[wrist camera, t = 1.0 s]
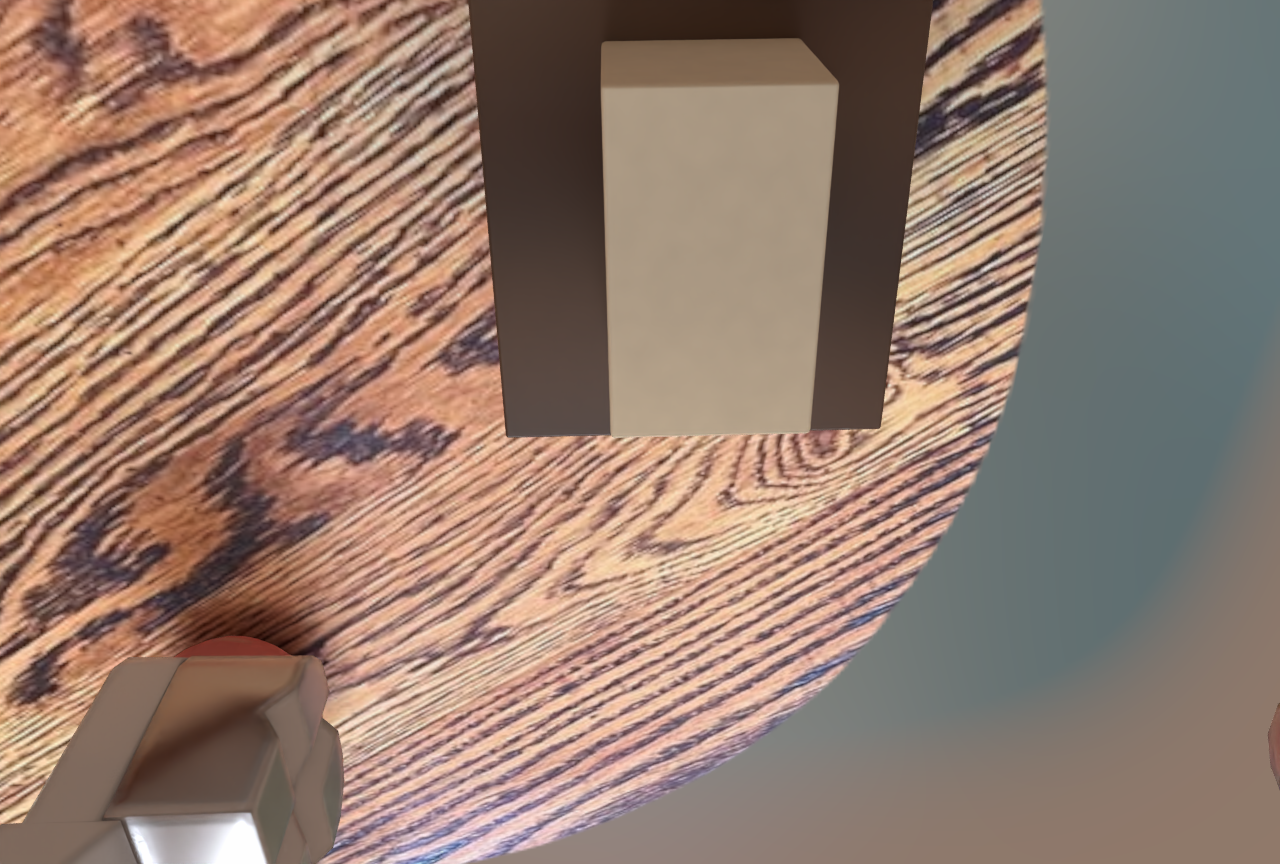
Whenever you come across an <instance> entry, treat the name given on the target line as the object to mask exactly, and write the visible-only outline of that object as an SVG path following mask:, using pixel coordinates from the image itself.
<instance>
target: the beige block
mask: <svg viewBox="0 0 1280 864" xmlns="http://www.w3.org/2000/svg"><path fill="white" fill-rule="evenodd" d="M838 93H839V83H838V81H837V79H836V78H835V77H834V76H833V75H832V74H831V73H830V72H829V70H828V69H827V68H826V67H825V66H824V65H823V64H822V63H821V61H820V60H819V59H818V58H817V57H816V56H815V55H814V54H813V52H812V51H811V50H810V49H809V48H808V47H807V46H806V45H805V43H804V42H803V41H802V40H801V39H799V38H779V39H716V40H654V41H605V42H603V43H602V46H601V115H602V151H603V186H604V222H605V257H606V293H607V328H608V364H609V399H610V434H611V436H612V437H614V438H627V437H669V436H711V435H754V434H796V433H808V432H809V431H810V428H811V416H812V404H813V392H814V380H815V368H816V356H817V344H818V332H819V320H820V308H821V296H822V284H823V272H824V260H825V248H826V237H827V225H828V213H829V201H830V189H831V177H832V165H833V153H834V141H835V129H836V117H837V105H838Z"/></svg>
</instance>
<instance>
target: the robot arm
mask: <svg viewBox="0 0 1280 864" xmlns="http://www.w3.org/2000/svg"><path fill="white" fill-rule="evenodd" d="M328 694H329V688H328V684H327V680H326V676H325V672H324V668H323V665H322V661H321V660H319V659H318V658H316V657H314V656H313V655H307V656H191V657H190V658H185V657H129V658H127V659H126V660H124V661H123V662H121V663H120V664H119V665H117V666H116V667H114V668H113V669H112V671H111V672H110V674H109V675H108V677H107V679H106V680H105V682H104V684H103V686H102V687H101V689H100V691H99V692H98V694H97V696H96V698H95V699H94V701H93V703H92V704H91V706H90V708H89V710H88V711H87V713H86V715H85V716H84V718H83V720H82V721H81V723H80V725H79V727H78V728H77V730H76V732H75V733H74V735H73V737H72V739H71V740H70V742H69V744H68V745H67V747H66V749H65V751H64V752H63V754H62V756H61V757H60V759H59V761H58V763H57V764H56V766H55V768H54V769H53V771H52V773H51V775H50V776H49V778H48V780H47V781H46V783H45V785H44V787H43V788H42V790H41V792H40V793H39V795H38V797H37V799H36V800H35V802H34V804H33V805H32V807H31V809H30V810H29V812H28V814H27V816H26V817H25V819H24V821H23V822H22V823H14V824H1V825H0V864H316V863H317V862H318V861H319V860H320V859H321V858H323V857H324V856H325V855H326V854H327V853H328V852H329V851H330V850H331V849H332V848H333V845H334V841H335V837H336V833H337V829H338V825H339V821H340V817H341V807H342V797H343V787H344V769H343V753H342V748H341V743H340V738H339V733H338V730H336V729H335V728H334V727H333V726H332V725H330V724H329V723H328V722H327V721H326V720H324V719H323V718H322V714H323V711H324V707H325V704H326V701H327V698H328ZM1268 742H1269V753H1270V764H1271V769H1272V771H1273V774H1274V776H1275V779H1276V781H1277V784H1278V786H1279V789H1280V703H1279V704H1278V706H1277V709H1276V712H1275V715H1274V718H1273V720H1272V723H1271V726H1270V729H1269V732H1268Z"/></svg>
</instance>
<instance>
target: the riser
mask: <svg viewBox="0 0 1280 864" xmlns="http://www.w3.org/2000/svg"><path fill="white" fill-rule="evenodd" d="M468 3H469V15H470V26H471V38H472V49H473V61H474V72H475V84H476V95H477V107H478V118H479V130H480V141H481V153H482V164H483V176H484V187H485V199H486V211H487V222H488V234H489V245H490V257H491V268H492V280H493V291H494V303H495V314H496V326H497V337H498V349H499V360H500V372H501V383H502V395H503V406H504V418H505V429H506V436H507V437H509V438H511V437H553V436H596V435H611V434H610V399H609V364H608V328H607V293H606V257H605V222H604V186H603V151H602V115H601V46H602V43H603V42H605V41H654V40H716V39H779V38H799V39H801V40H802V41H803V42H804V43H805V45H806V46H807V47H808V48H809V49H810V50H811V51H812V52H813V54H814V55H815V56H816V57H817V58H818V59H819V60H820V61H821V63H822V64H823V65H824V66H825V67H826V68H827V69H828V70H829V72H830V73H831V74H832V75H833V76H834V77H835V78H836V79H837V81H838V83H839V93H838V105H837V117H836V129H835V141H834V153H833V165H832V177H831V189H830V201H829V213H828V225H827V237H826V248H825V260H824V272H823V284H822V296H821V308H820V320H819V332H818V344H817V356H816V368H815V380H814V392H813V404H812V416H811V428H810V430H850V429H879V428H880V427H881V420H882V412H883V404H884V395H885V387H886V379H887V371H888V363H889V355H890V347H891V338H892V330H893V322H894V314H895V306H896V298H897V290H898V281H899V273H900V265H901V257H902V249H903V241H904V233H905V225H906V216H907V208H908V200H909V192H910V184H911V176H912V168H913V159H914V151H915V143H916V135H917V127H918V119H919V111H920V102H921V94H922V86H923V78H924V70H925V62H926V54H927V45H928V37H929V29H930V21H931V13H932V5H933V0H468Z"/></svg>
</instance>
